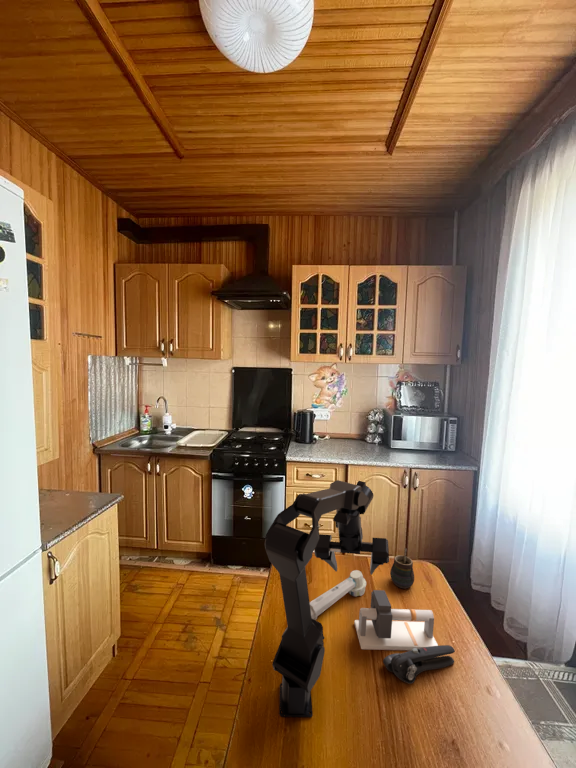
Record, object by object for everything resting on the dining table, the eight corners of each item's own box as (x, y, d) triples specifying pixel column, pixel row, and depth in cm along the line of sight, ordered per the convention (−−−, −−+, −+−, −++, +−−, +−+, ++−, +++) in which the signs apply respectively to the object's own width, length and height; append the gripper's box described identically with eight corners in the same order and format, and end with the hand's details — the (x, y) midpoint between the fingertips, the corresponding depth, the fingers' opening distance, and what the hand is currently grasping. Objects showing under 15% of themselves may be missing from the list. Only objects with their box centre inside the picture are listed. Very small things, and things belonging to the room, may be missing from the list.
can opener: (397, 693, 73) (398, 668, 73) (379, 664, 80) (381, 641, 79) (465, 675, 78) (467, 652, 78) (443, 649, 85) (445, 628, 84)
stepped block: (390, 640, 83) (392, 609, 83) (378, 640, 83) (380, 609, 83) (381, 615, 91) (383, 587, 91) (370, 615, 91) (371, 586, 91)
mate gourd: (389, 588, 106) (391, 557, 105) (389, 574, 113) (391, 545, 113) (414, 594, 104) (416, 562, 103) (413, 579, 111) (415, 549, 111)
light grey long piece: (294, 605, 92) (356, 561, 107) (295, 626, 93) (356, 580, 108) (306, 617, 88) (369, 570, 103) (308, 639, 89) (370, 590, 104)
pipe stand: (438, 651, 84) (441, 623, 83) (361, 649, 84) (363, 620, 83) (425, 625, 92) (427, 599, 91) (354, 623, 91) (356, 597, 91)
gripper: (386, 505, 92) (388, 550, 97) (317, 502, 97) (322, 545, 102) (388, 537, 82) (390, 585, 87) (311, 532, 87) (317, 578, 92)
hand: (353, 571), depth 92 cm, fingers open, 9 cm apart
